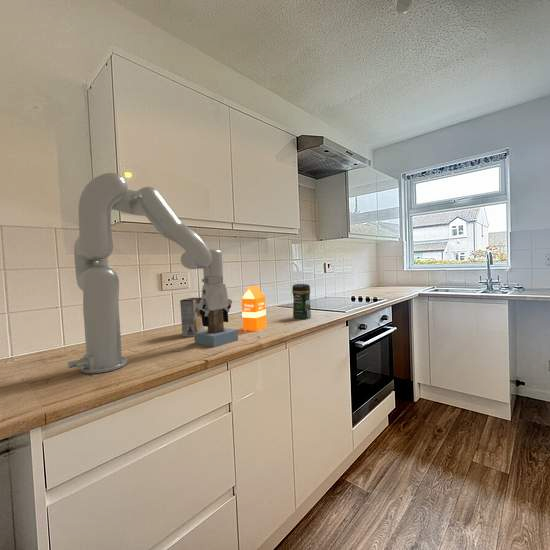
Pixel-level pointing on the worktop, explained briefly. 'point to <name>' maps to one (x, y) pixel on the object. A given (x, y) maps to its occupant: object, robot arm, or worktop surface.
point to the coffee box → (190, 317)
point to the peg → (216, 321)
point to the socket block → (216, 337)
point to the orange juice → (253, 309)
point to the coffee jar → (301, 301)
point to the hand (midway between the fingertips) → (215, 323)
